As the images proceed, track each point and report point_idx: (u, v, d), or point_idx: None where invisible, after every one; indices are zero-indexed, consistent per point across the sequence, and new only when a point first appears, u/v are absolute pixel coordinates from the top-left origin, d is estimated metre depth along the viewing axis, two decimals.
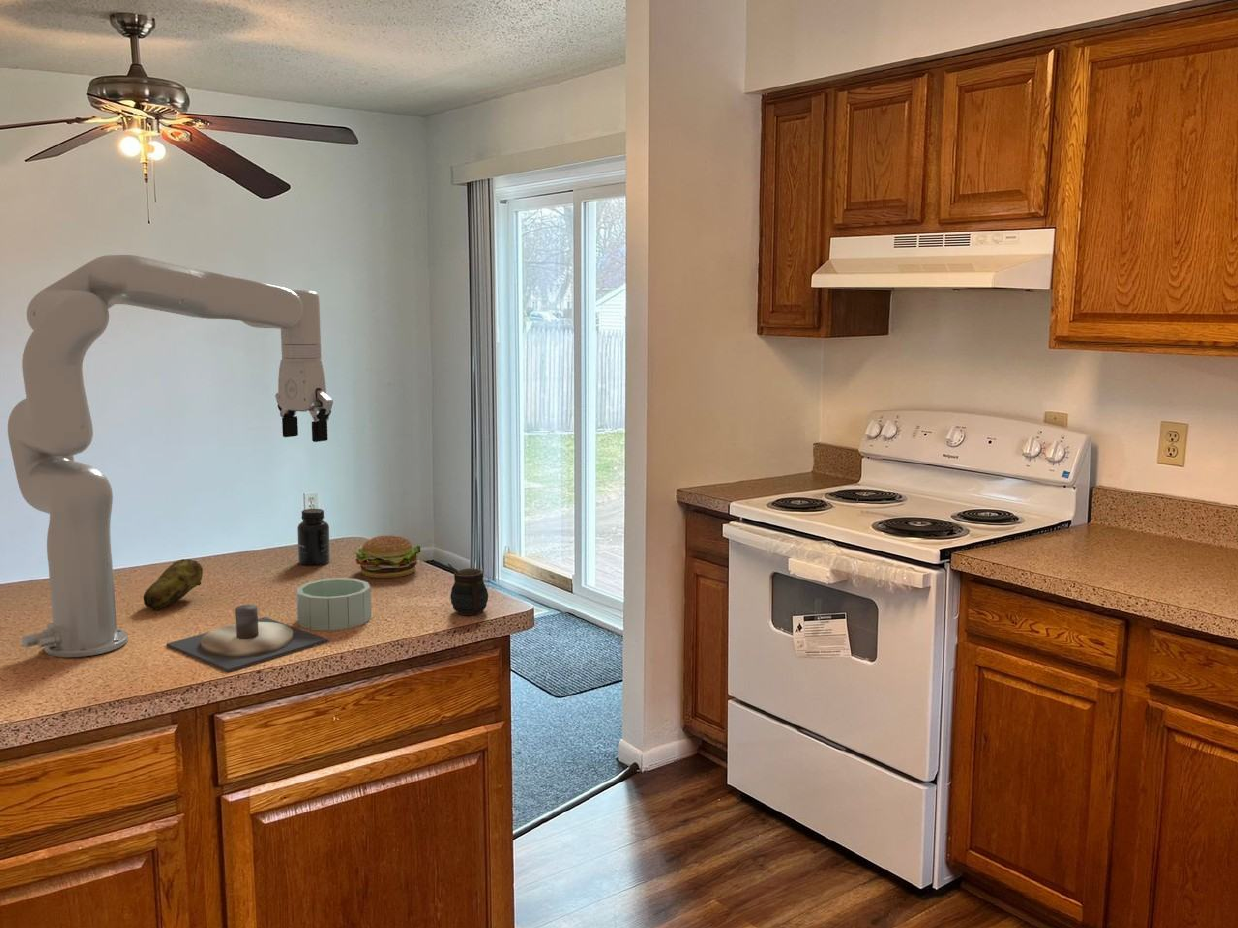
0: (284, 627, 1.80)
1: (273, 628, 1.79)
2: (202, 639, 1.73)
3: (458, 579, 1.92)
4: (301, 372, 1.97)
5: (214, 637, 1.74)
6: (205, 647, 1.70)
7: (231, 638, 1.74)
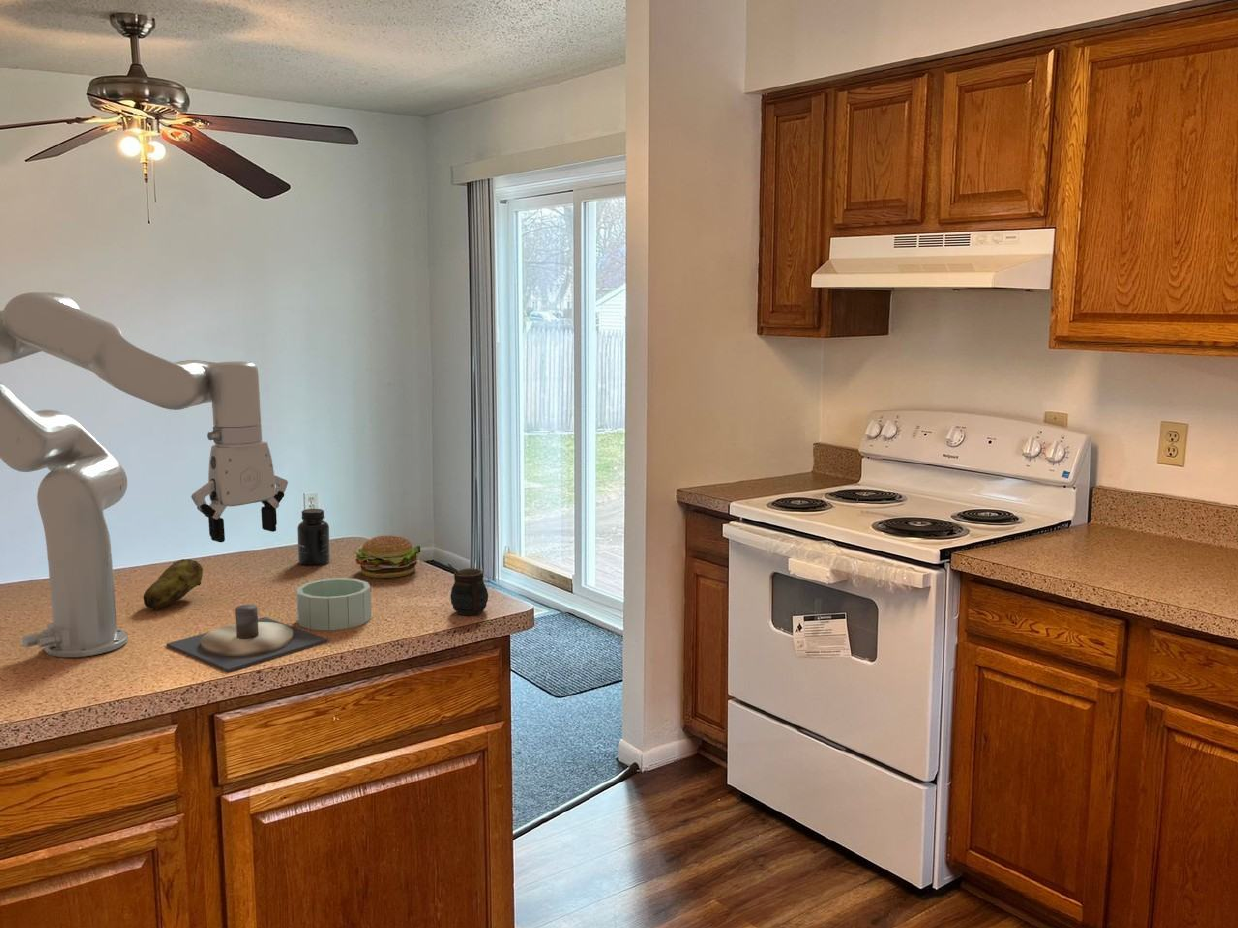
0: (284, 627, 1.80)
1: (273, 628, 1.79)
2: (202, 639, 1.73)
3: (458, 579, 1.92)
4: (265, 456, 1.71)
5: (214, 637, 1.74)
6: (205, 647, 1.70)
7: (231, 638, 1.74)
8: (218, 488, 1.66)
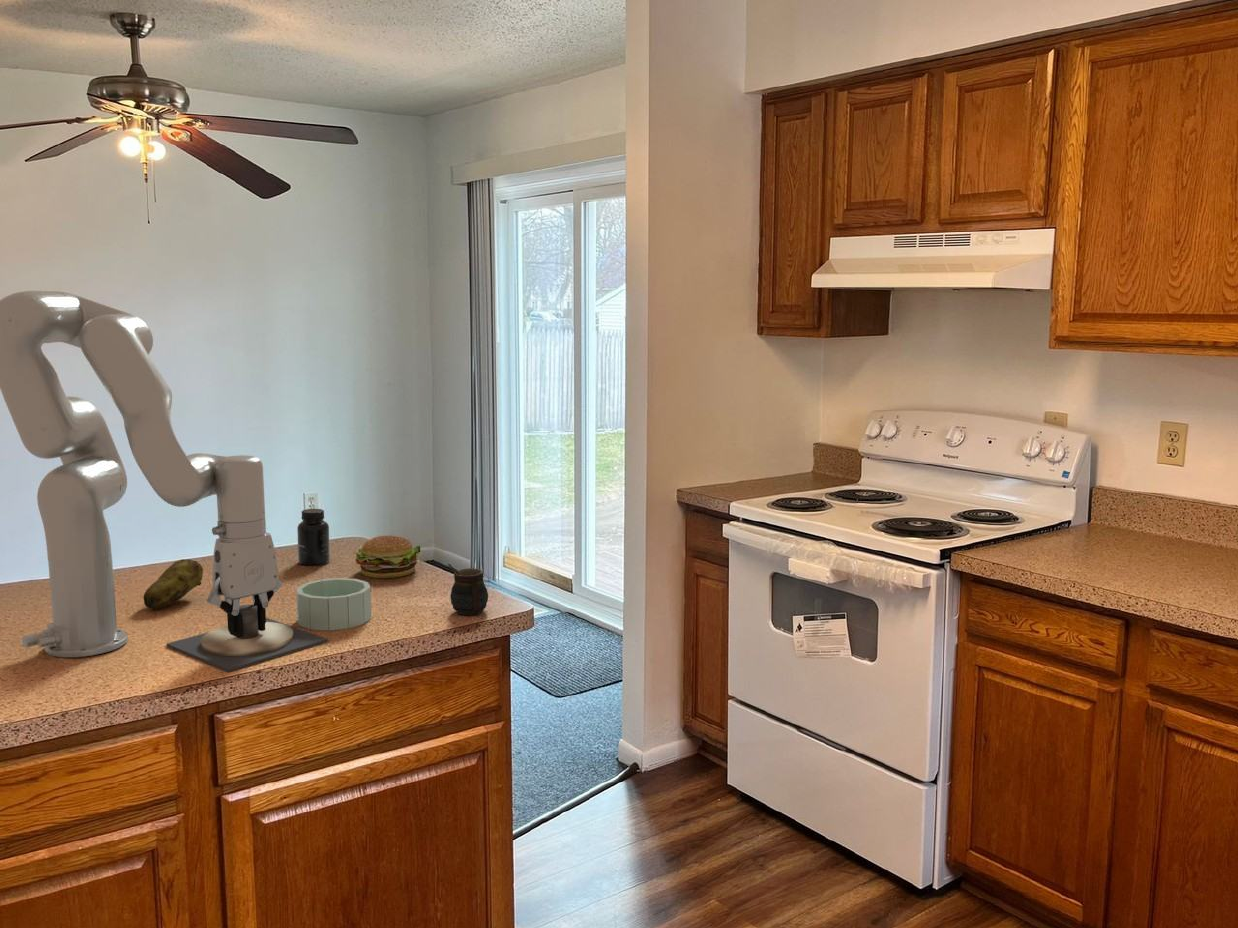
0: (284, 627, 1.80)
1: (273, 628, 1.79)
2: (202, 639, 1.73)
3: (458, 579, 1.92)
4: (268, 548, 1.74)
5: (214, 637, 1.74)
6: (205, 647, 1.70)
7: (231, 638, 1.74)
8: (222, 582, 1.69)
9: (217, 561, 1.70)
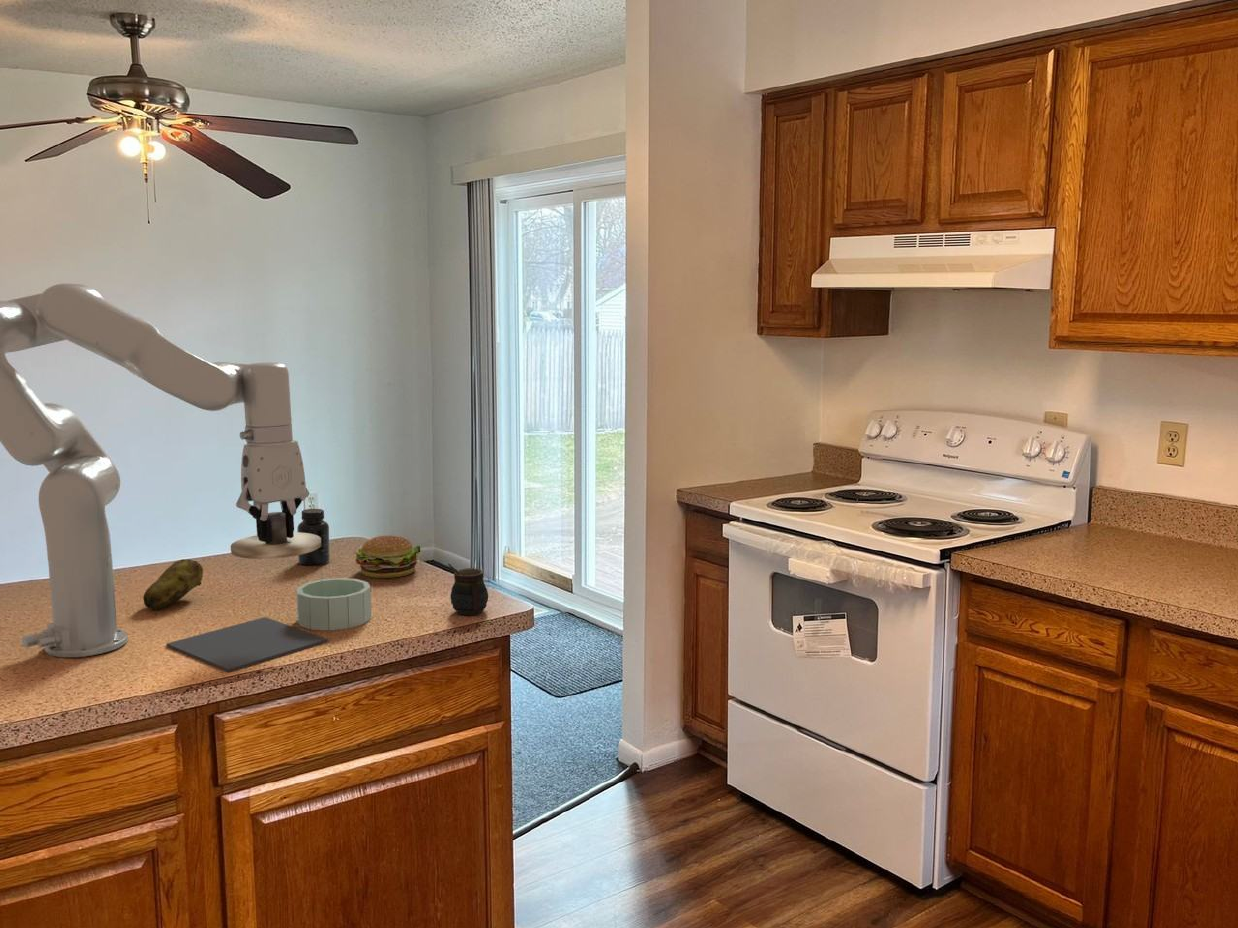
0: (312, 535, 1.82)
1: (301, 536, 1.81)
2: (232, 545, 1.75)
3: (458, 579, 1.92)
4: (295, 454, 1.76)
5: (244, 543, 1.77)
6: (235, 551, 1.72)
7: (260, 544, 1.76)
8: (250, 486, 1.71)
9: (245, 466, 1.72)
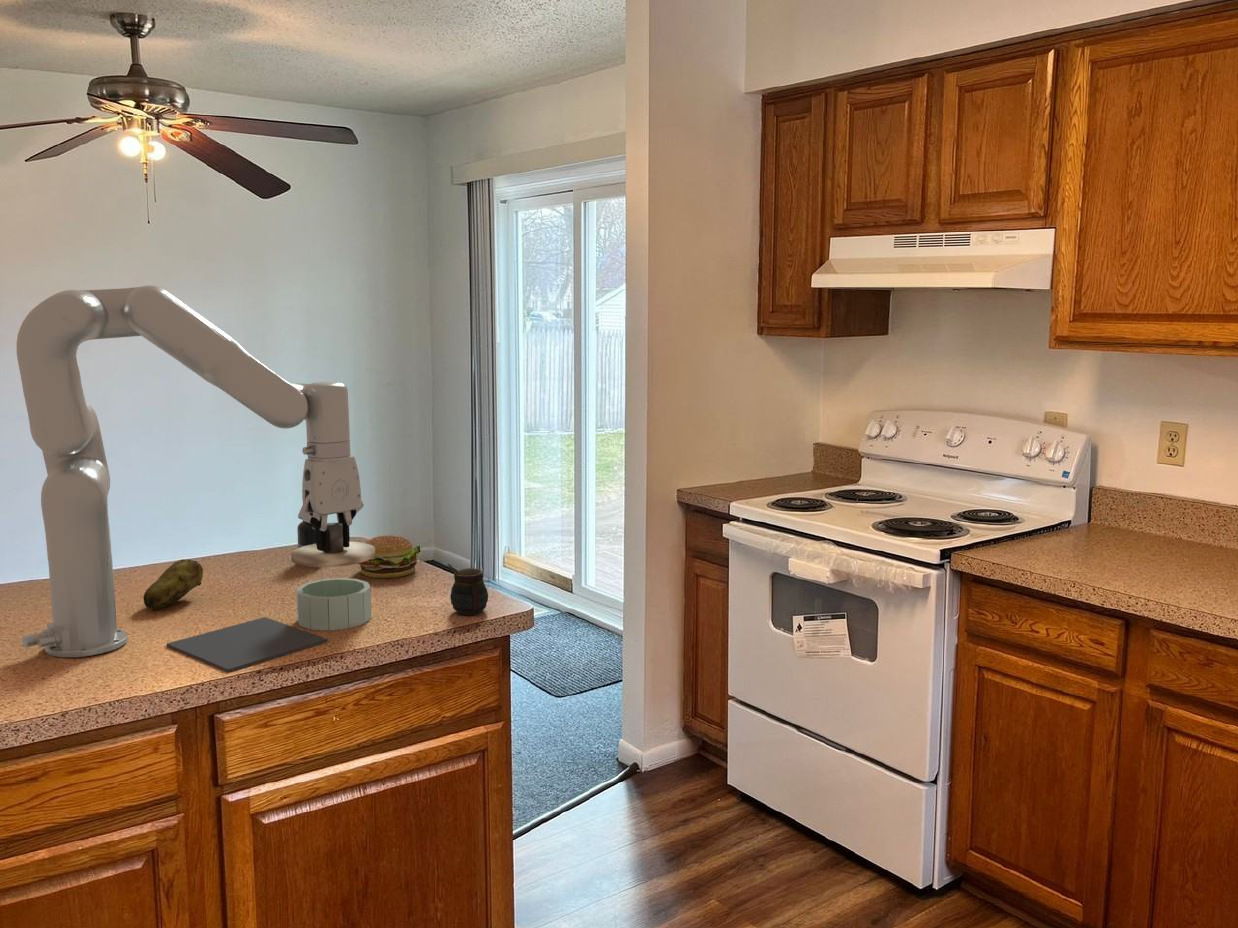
0: (365, 545, 1.92)
1: (355, 545, 1.91)
2: (292, 554, 1.85)
3: (458, 579, 1.92)
4: (352, 468, 1.86)
5: (303, 552, 1.87)
6: (297, 560, 1.82)
7: (319, 553, 1.86)
8: (312, 498, 1.81)
9: (307, 480, 1.82)
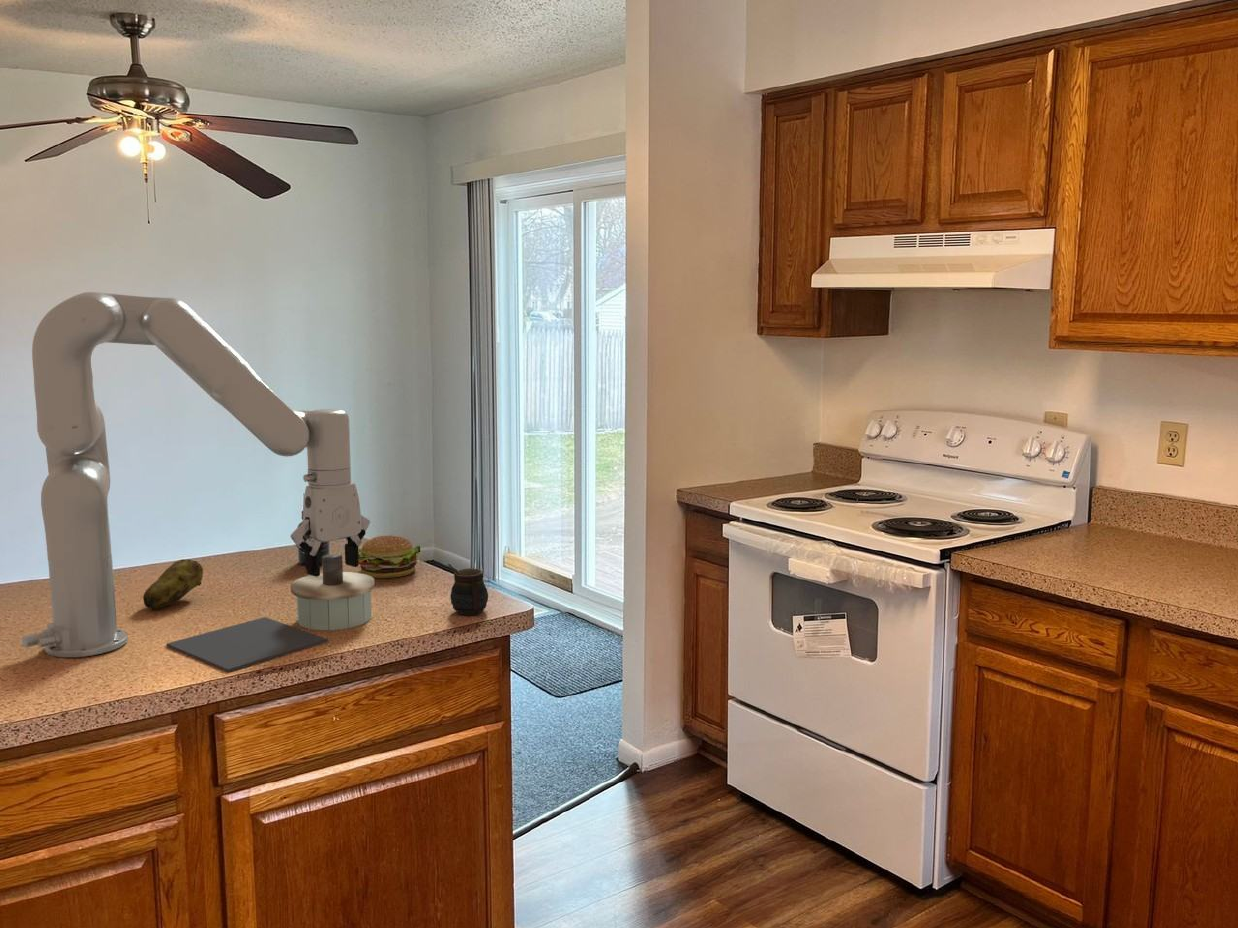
0: (365, 576, 1.93)
1: (355, 577, 1.92)
2: (292, 585, 1.86)
3: (458, 579, 1.92)
4: (353, 495, 1.87)
5: (302, 583, 1.87)
6: (296, 592, 1.83)
7: (319, 585, 1.87)
8: (312, 525, 1.82)
9: (307, 506, 1.83)
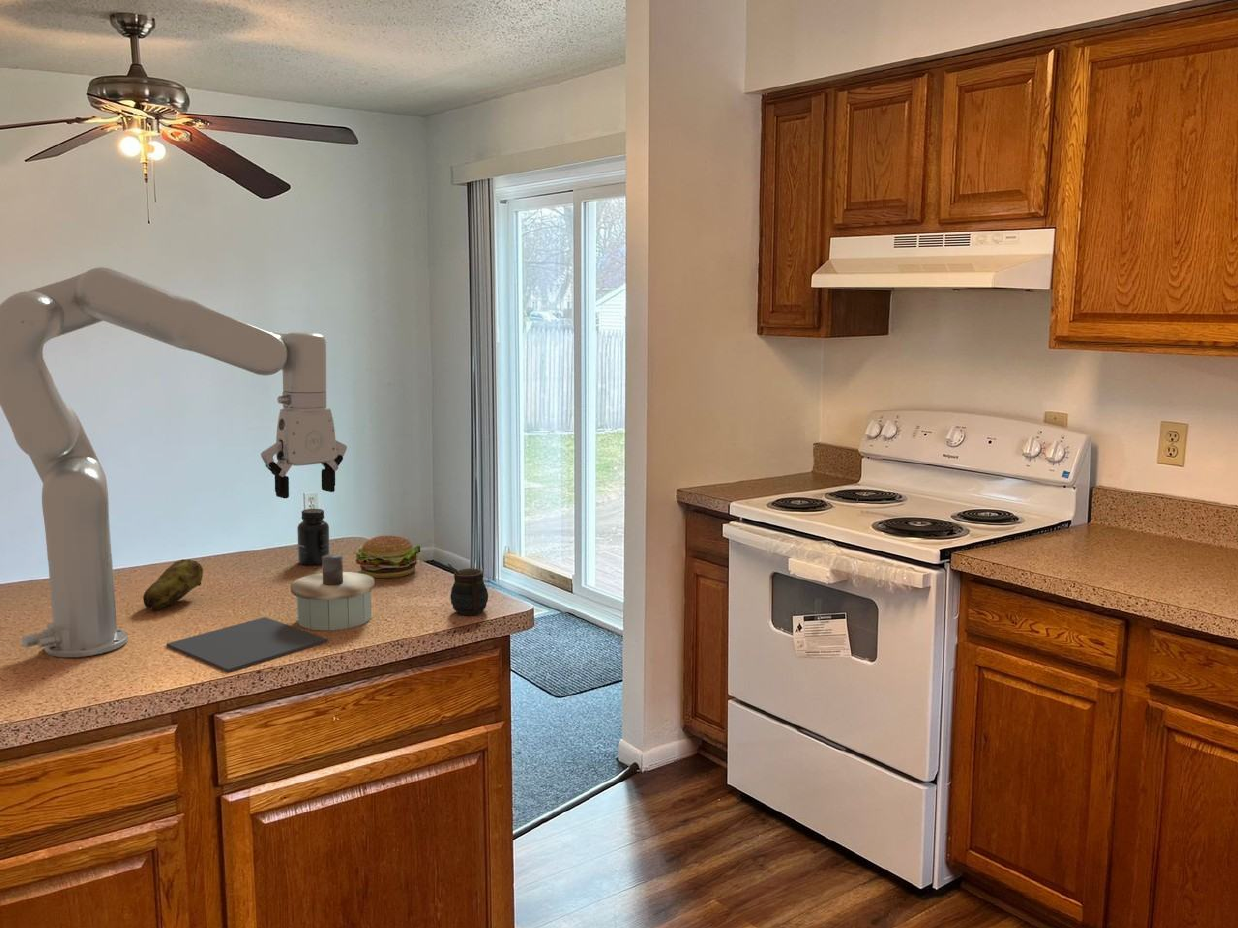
0: (365, 576, 1.93)
1: (355, 577, 1.92)
2: (292, 585, 1.86)
3: (458, 579, 1.92)
4: (328, 421, 1.85)
5: (302, 583, 1.87)
6: (296, 592, 1.83)
7: (319, 585, 1.87)
8: (285, 448, 1.80)
9: (281, 429, 1.81)
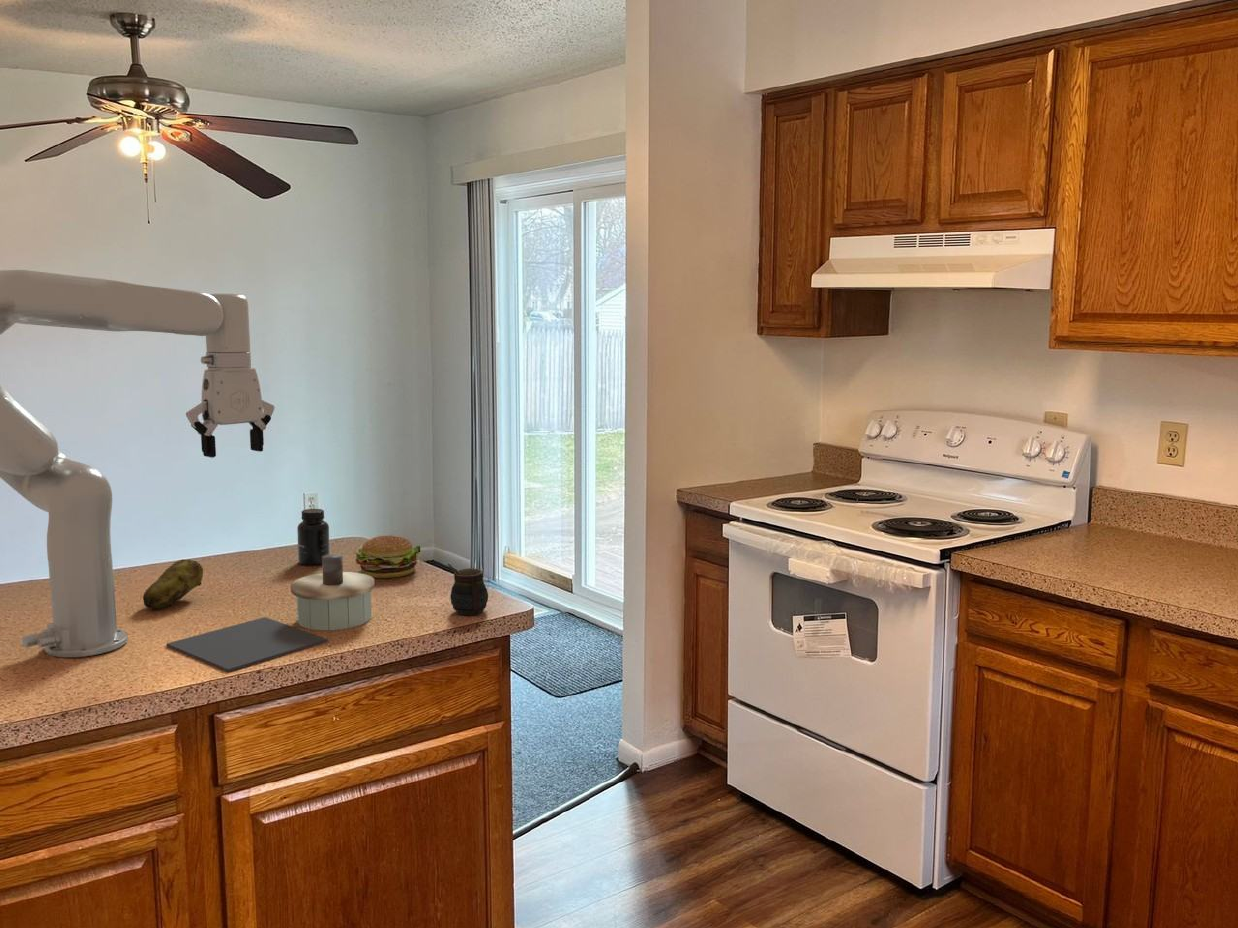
0: (365, 576, 1.93)
1: (355, 577, 1.92)
2: (292, 585, 1.86)
3: (458, 579, 1.92)
4: (253, 381, 1.88)
5: (302, 583, 1.87)
6: (296, 592, 1.83)
7: (319, 585, 1.87)
8: (210, 407, 1.83)
9: (206, 389, 1.84)
